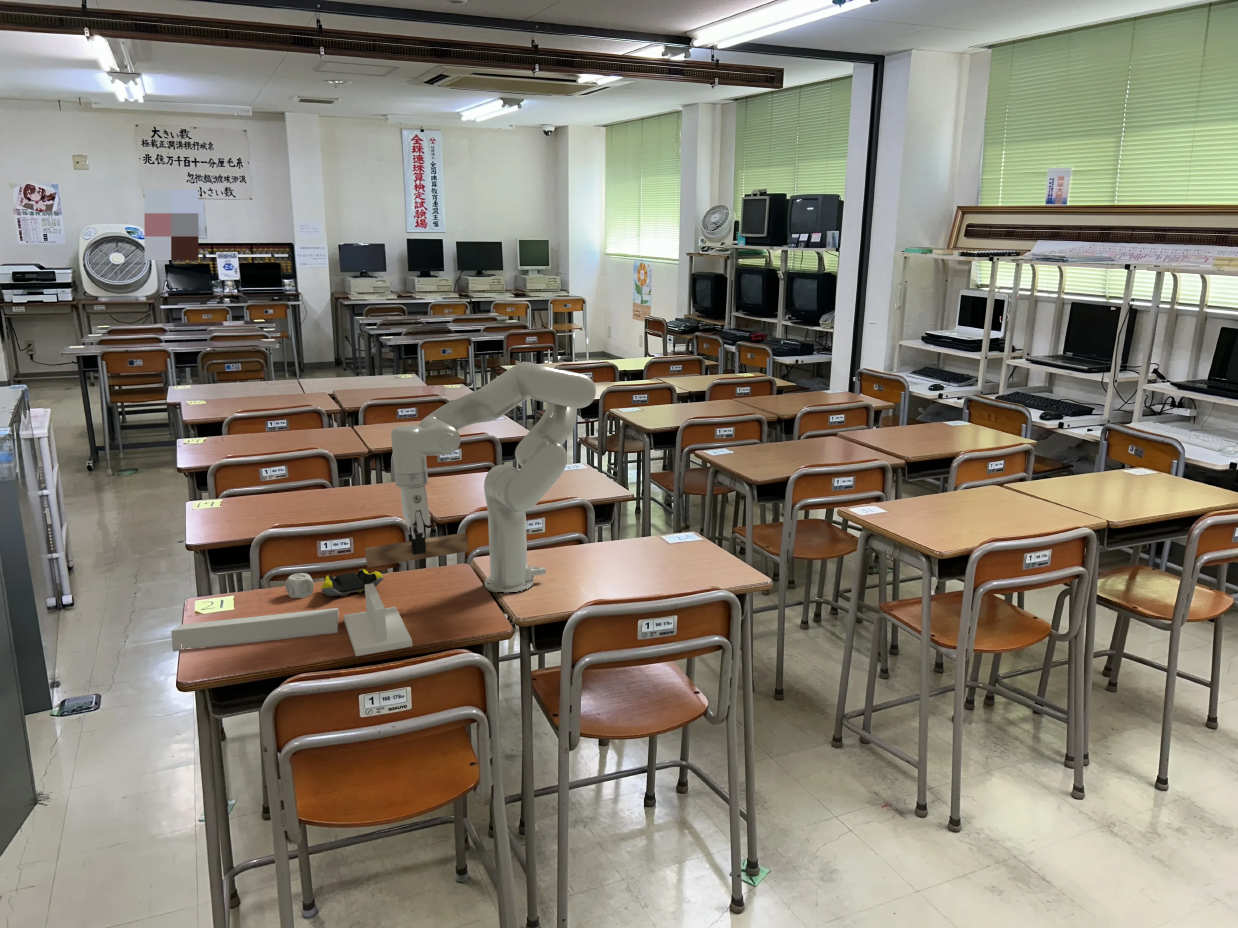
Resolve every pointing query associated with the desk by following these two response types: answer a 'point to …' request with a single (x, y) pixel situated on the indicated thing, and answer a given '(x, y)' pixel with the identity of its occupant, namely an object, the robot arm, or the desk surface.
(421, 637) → the desk surface
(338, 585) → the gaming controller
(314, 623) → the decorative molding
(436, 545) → the walnut batten
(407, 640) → the stand
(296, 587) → the die
